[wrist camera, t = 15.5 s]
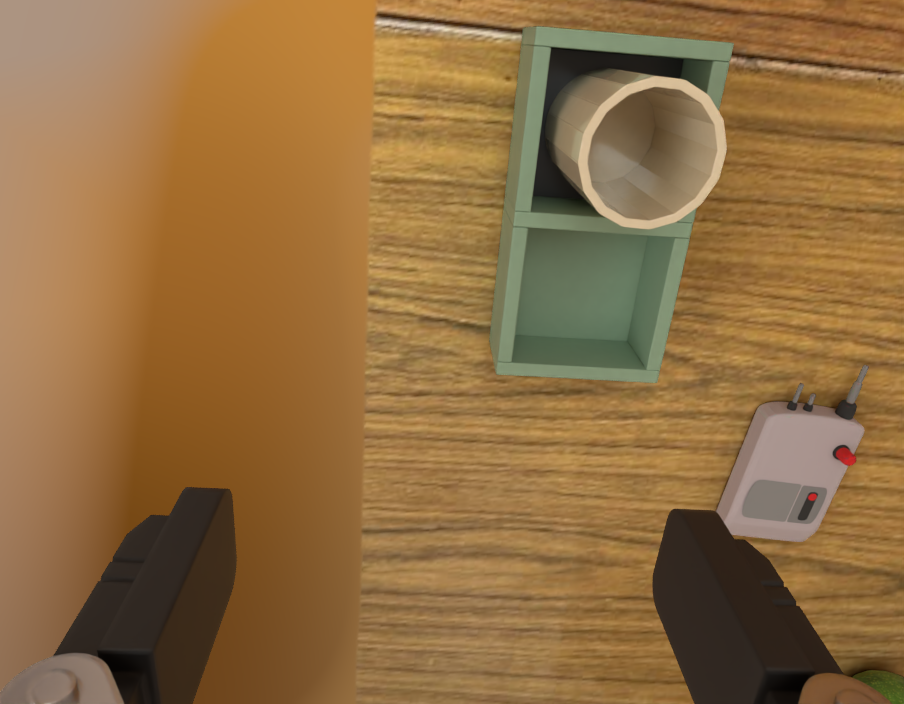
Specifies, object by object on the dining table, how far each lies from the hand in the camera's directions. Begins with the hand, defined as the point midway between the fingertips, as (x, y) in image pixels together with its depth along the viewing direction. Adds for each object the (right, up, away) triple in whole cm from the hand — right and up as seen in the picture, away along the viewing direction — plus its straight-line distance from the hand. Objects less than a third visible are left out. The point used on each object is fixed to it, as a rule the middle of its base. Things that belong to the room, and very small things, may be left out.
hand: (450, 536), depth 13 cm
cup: (+8, +15, +23) cm, 29 cm away
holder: (+7, +12, +26) cm, 29 cm away
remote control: (+22, -4, +34) cm, 41 cm away
